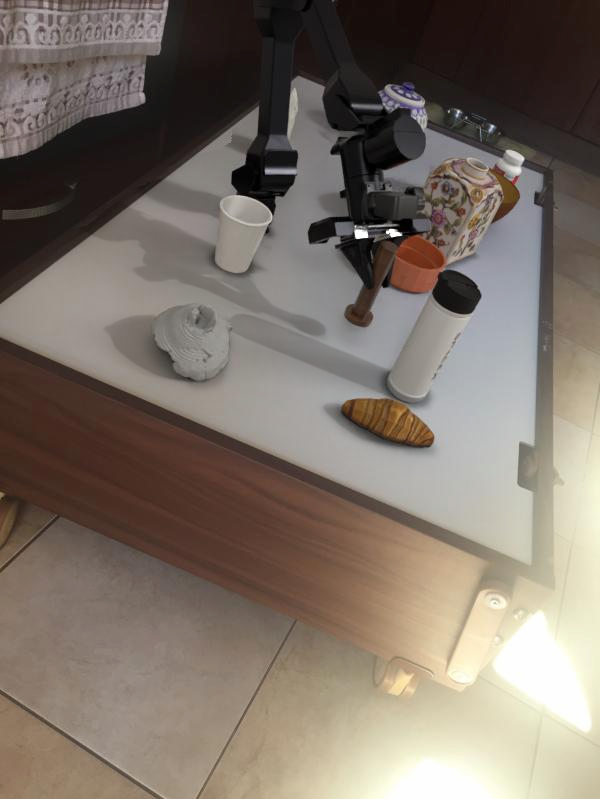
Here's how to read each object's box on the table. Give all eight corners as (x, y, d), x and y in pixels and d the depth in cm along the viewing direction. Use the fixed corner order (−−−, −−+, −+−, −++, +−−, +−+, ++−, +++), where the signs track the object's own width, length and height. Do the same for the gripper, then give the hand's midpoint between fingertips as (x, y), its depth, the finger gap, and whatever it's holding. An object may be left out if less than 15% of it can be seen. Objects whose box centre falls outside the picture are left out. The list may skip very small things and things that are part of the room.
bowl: (481, 254, 150) (505, 211, 143) (409, 212, 154) (429, 169, 147) (507, 229, 163) (530, 189, 156) (440, 191, 167) (459, 151, 160)
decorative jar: (399, 234, 145) (437, 151, 133) (430, 224, 153) (468, 144, 141) (445, 268, 141) (488, 184, 129) (475, 255, 148) (518, 175, 137)
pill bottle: (489, 203, 170) (512, 160, 163) (476, 189, 174) (497, 146, 167) (509, 205, 173) (532, 162, 166) (495, 191, 177) (518, 149, 170)
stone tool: (272, 166, 150) (293, 95, 140) (259, 159, 150) (280, 88, 141) (289, 155, 156) (311, 86, 147) (277, 148, 157) (297, 79, 147)
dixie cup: (234, 243, 124) (249, 191, 117) (266, 271, 121) (283, 219, 114) (196, 253, 118) (209, 198, 112) (228, 282, 115) (244, 228, 109)
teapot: (407, 173, 169) (434, 111, 159) (346, 148, 168) (369, 84, 159) (420, 138, 188) (445, 81, 178) (365, 115, 188) (387, 56, 178)
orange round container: (382, 291, 128) (394, 265, 124) (365, 252, 136) (376, 226, 132) (442, 299, 132) (455, 274, 128) (422, 261, 140) (434, 237, 136)
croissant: (334, 428, 98) (347, 402, 95) (343, 397, 103) (355, 372, 100) (427, 464, 98) (443, 440, 95) (431, 432, 104) (446, 408, 100)
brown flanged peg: (347, 325, 108) (379, 252, 100) (340, 307, 111) (371, 234, 103) (374, 328, 110) (408, 257, 102) (366, 310, 113) (399, 239, 105)
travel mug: (380, 371, 110) (435, 261, 98) (420, 378, 112) (479, 271, 99) (387, 399, 106) (445, 288, 93) (428, 406, 108) (491, 299, 95)
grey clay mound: (234, 393, 101) (258, 353, 92) (149, 391, 96) (166, 348, 88) (223, 321, 106) (245, 276, 98) (142, 315, 101) (157, 268, 93)
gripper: (347, 162, 92) (364, 286, 94) (450, 164, 103) (464, 275, 104) (298, 185, 102) (314, 297, 103) (397, 184, 112) (410, 286, 113)
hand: (378, 288), depth 106 cm, fingers closed on brown flanged peg, 2 cm apart
